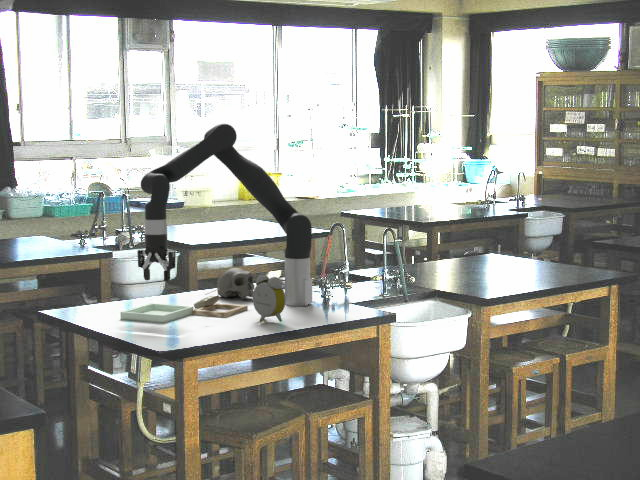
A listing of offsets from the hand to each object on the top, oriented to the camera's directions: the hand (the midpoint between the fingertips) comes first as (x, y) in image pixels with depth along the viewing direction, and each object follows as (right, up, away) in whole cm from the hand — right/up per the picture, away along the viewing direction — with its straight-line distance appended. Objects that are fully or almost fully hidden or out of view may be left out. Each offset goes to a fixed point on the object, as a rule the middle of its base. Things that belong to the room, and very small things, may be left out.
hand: (156, 280), depth 354 cm
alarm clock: (+38, -13, -7) cm, 41 cm away
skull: (+24, -8, +40) cm, 47 cm away
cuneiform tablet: (+20, -6, +9) cm, 22 cm away
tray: (0, -12, +1) cm, 12 cm away
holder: (+21, -11, +10) cm, 25 cm away
